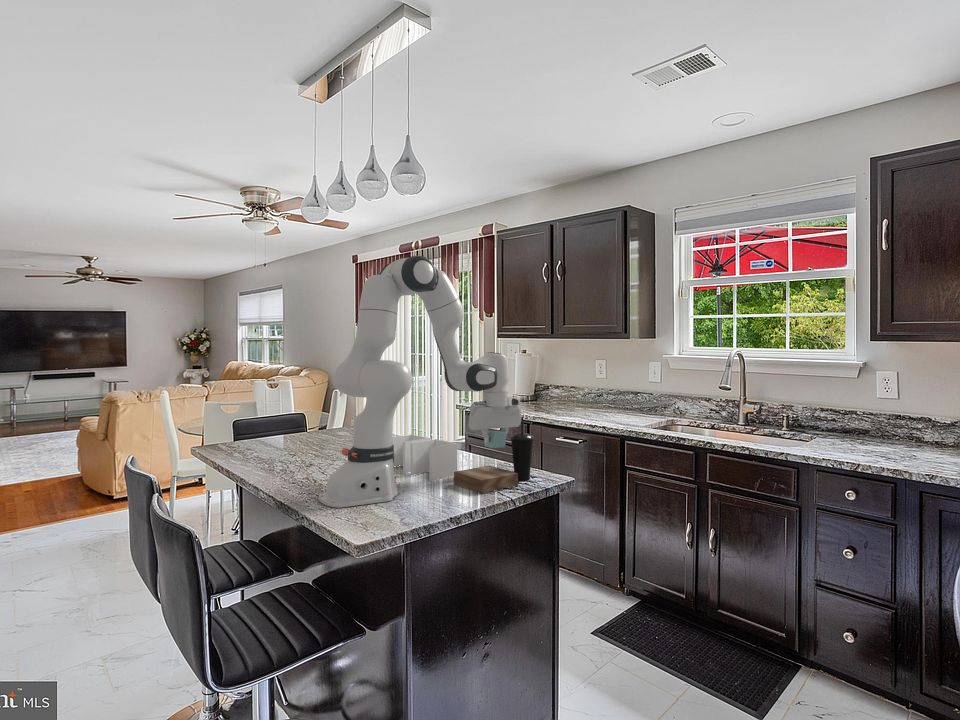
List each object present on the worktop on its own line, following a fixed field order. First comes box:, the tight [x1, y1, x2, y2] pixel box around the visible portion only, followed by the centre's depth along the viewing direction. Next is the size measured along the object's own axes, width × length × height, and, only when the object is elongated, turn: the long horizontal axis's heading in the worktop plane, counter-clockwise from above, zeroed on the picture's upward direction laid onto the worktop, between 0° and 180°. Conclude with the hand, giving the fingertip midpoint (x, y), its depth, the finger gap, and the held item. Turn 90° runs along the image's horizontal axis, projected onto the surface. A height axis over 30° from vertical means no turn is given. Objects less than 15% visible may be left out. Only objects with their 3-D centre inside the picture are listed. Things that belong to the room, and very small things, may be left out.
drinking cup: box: [509, 416, 535, 482], centre depth 179 cm, size 8×8×20 cm
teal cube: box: [484, 430, 507, 449], centre depth 187 cm, size 5×5×5 cm
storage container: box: [392, 434, 458, 482], centre depth 189 cm, size 25×11×11 cm, turn 45°
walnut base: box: [453, 465, 519, 494], centre depth 171 cm, size 14×14×4 cm
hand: (495, 441), depth 187 cm, fingers closed on teal cube, 5 cm apart
